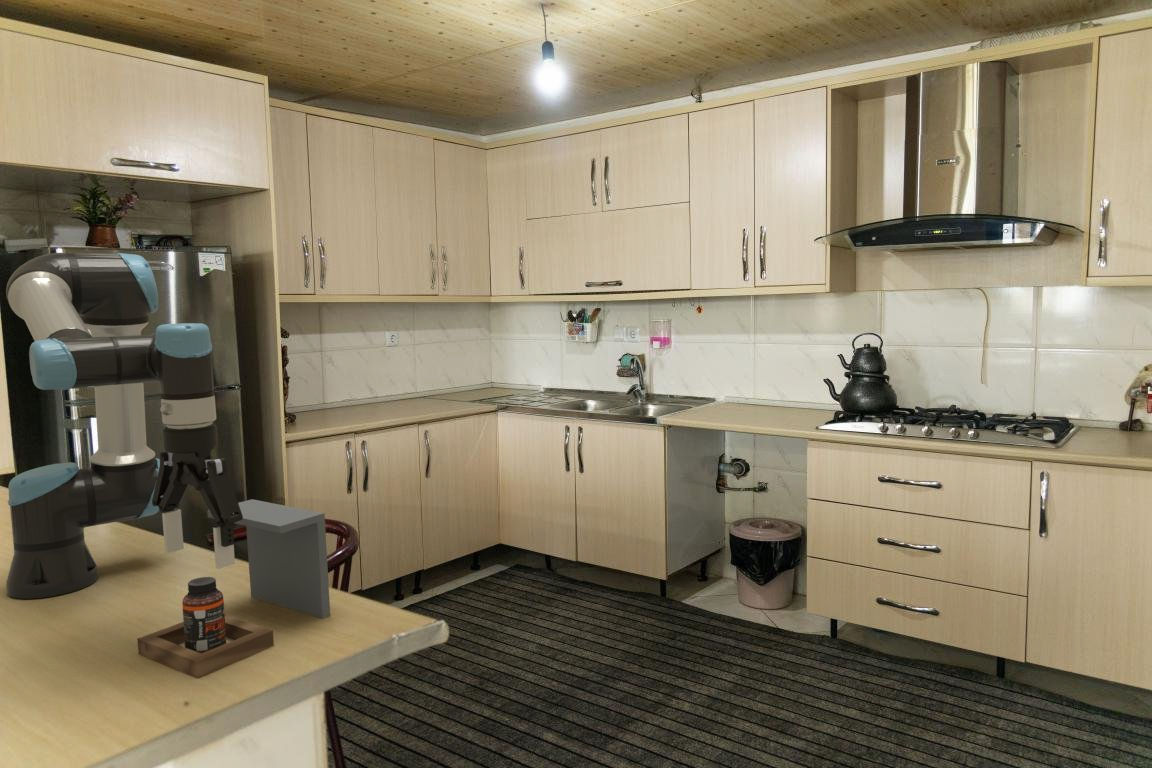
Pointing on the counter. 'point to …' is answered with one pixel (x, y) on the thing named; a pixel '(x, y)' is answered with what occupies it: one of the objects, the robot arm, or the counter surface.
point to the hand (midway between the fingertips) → (199, 558)
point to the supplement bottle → (203, 615)
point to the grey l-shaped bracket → (287, 556)
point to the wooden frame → (196, 664)
